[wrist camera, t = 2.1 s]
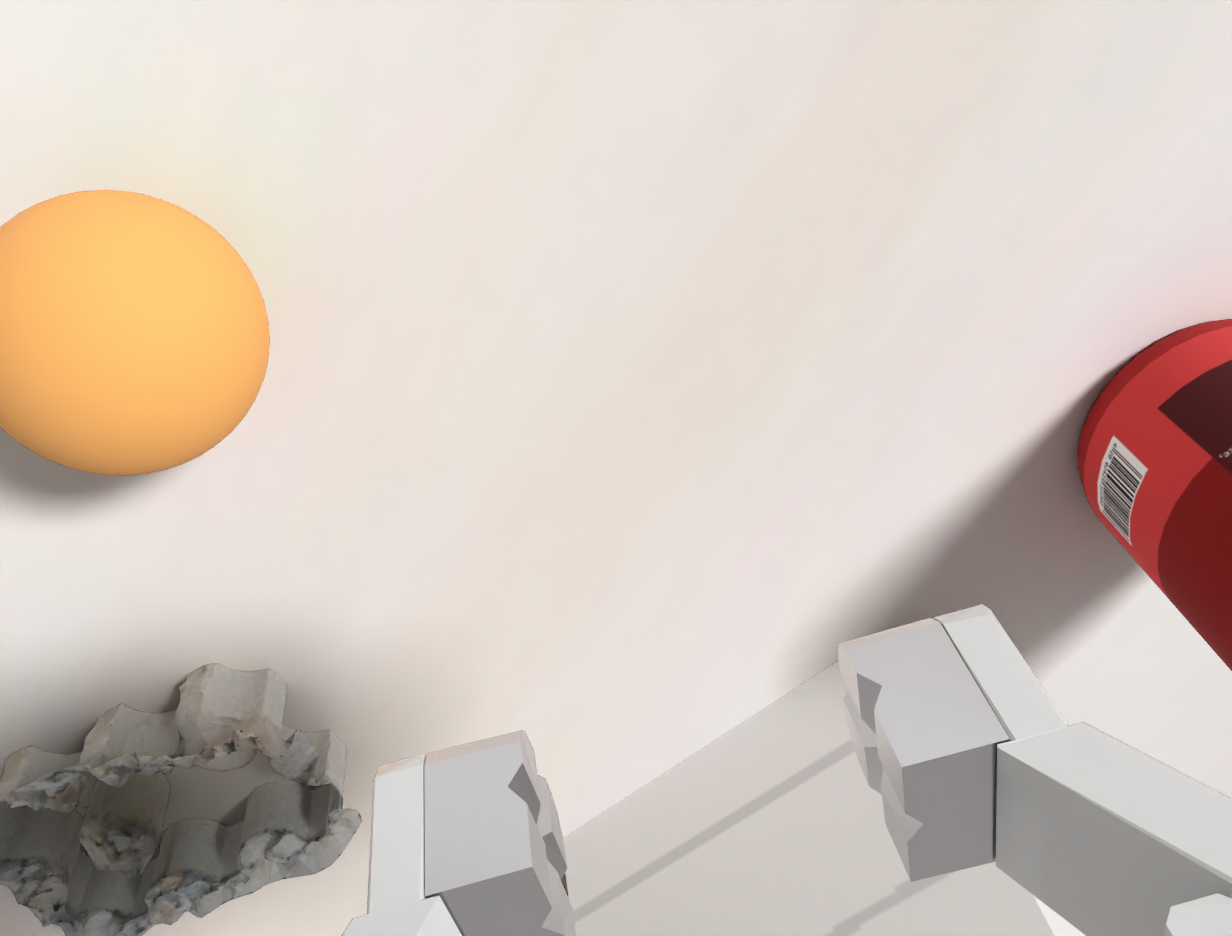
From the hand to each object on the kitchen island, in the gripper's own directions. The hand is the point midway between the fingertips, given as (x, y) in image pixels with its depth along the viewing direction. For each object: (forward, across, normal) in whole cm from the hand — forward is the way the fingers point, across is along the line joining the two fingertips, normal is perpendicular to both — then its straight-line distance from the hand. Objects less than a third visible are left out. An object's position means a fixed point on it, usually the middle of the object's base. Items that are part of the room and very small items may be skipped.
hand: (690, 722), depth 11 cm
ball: (+14, +10, 0) cm, 17 cm away
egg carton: (+18, +16, +16) cm, 29 cm away
